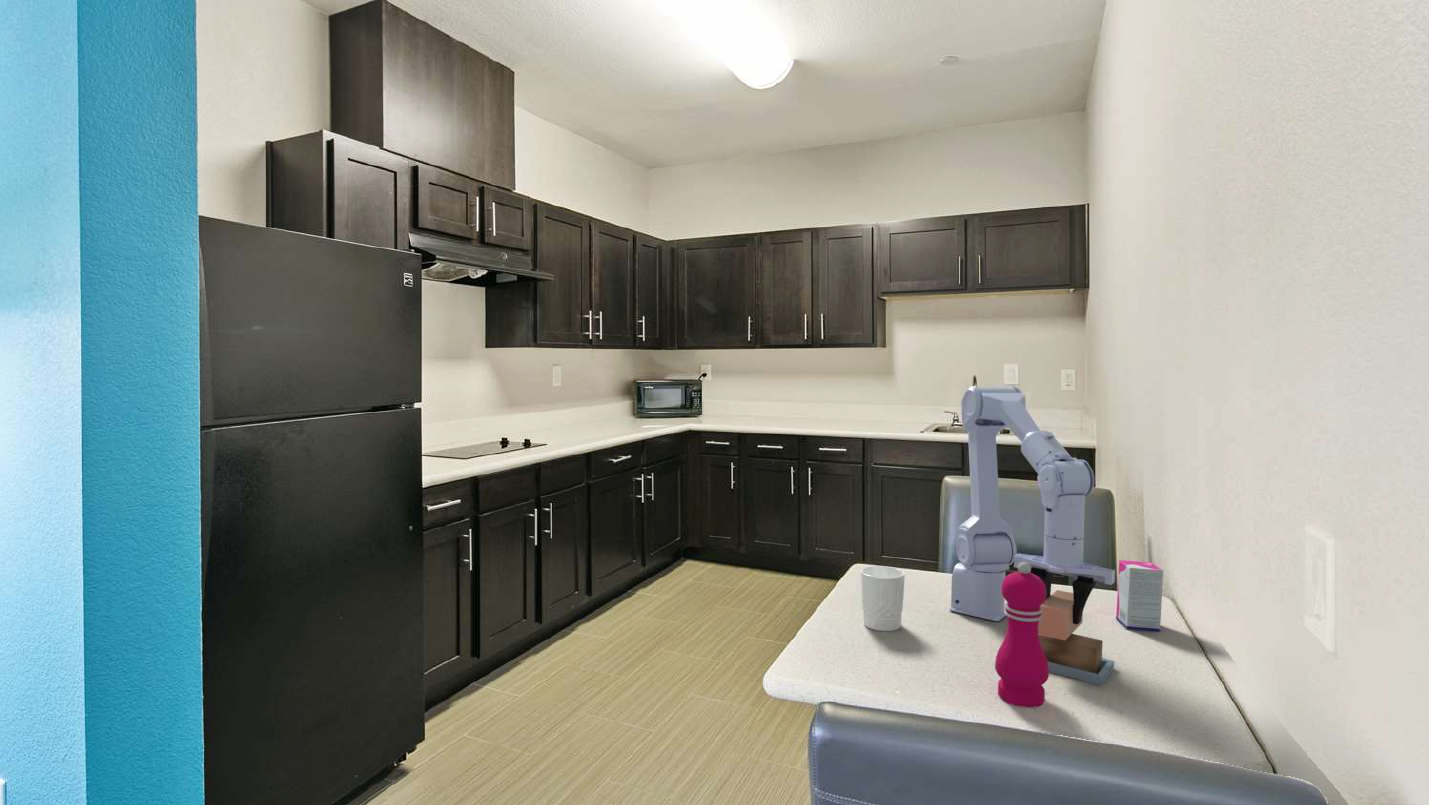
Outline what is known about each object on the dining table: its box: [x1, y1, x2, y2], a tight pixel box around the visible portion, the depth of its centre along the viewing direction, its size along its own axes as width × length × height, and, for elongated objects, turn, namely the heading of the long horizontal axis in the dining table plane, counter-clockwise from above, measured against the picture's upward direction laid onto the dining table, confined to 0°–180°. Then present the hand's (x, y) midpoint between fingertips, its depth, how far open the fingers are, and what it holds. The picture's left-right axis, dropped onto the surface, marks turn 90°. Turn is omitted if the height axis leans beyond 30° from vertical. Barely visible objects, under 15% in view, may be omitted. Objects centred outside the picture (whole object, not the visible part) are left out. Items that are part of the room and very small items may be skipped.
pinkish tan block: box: [1038, 589, 1084, 640], centre depth 115 cm, size 4×10×5 cm, turn 139°
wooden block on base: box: [1038, 633, 1103, 674], centre depth 116 cm, size 11×4×5 cm, turn 50°
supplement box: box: [1115, 559, 1164, 632], centre depth 133 cm, size 6×6×12 cm
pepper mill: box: [994, 562, 1050, 708], centre depth 104 cm, size 7×7×20 cm
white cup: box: [860, 565, 906, 632], centre depth 133 cm, size 8×8×10 cm
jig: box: [1047, 657, 1115, 686], centre depth 116 cm, size 15×14×1 cm
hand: (1061, 619), depth 115 cm, fingers closed on pinkish tan block, 4 cm apart
